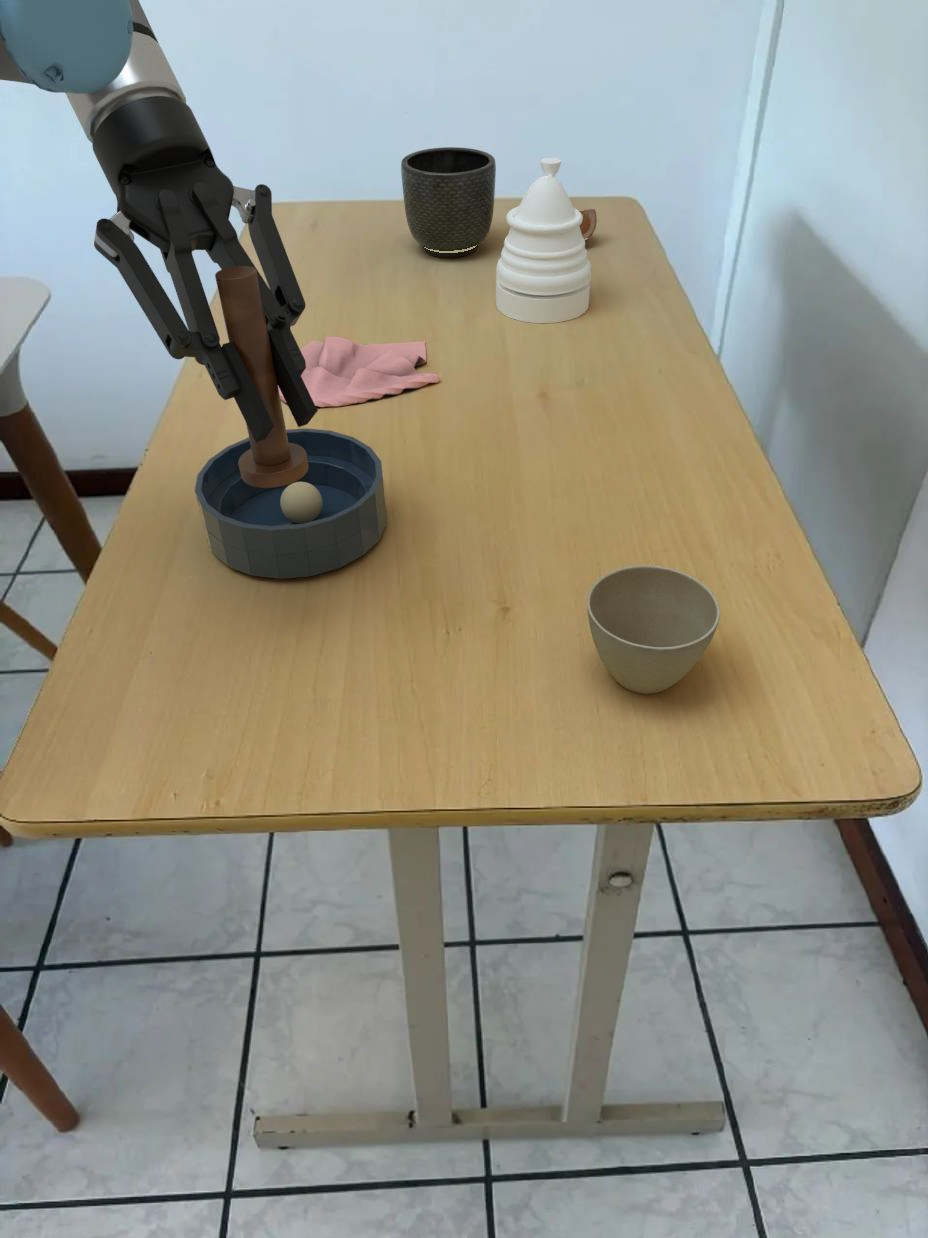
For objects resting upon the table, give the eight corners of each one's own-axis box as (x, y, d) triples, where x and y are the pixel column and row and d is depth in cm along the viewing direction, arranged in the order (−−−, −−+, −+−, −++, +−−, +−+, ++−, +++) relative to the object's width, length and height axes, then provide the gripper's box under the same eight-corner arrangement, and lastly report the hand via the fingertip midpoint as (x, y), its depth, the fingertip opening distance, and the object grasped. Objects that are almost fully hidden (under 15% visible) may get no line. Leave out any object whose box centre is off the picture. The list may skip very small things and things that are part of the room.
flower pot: (732, 682, 76) (749, 614, 72) (638, 736, 72) (649, 667, 67) (647, 615, 82) (656, 548, 78) (555, 661, 78) (560, 594, 74)
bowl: (200, 591, 86) (186, 536, 82) (215, 486, 99) (203, 435, 95) (391, 574, 87) (387, 520, 83) (381, 473, 100) (377, 422, 96)
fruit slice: (548, 254, 146) (549, 220, 143) (535, 238, 151) (536, 206, 148) (600, 248, 148) (602, 215, 145) (585, 233, 153) (588, 201, 149)
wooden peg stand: (233, 488, 72) (187, 286, 63) (249, 456, 76) (208, 261, 67) (301, 487, 72) (265, 283, 62) (314, 454, 76) (281, 258, 67)
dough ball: (292, 523, 94) (274, 525, 91) (289, 482, 94) (271, 483, 90) (330, 521, 93) (313, 523, 90) (327, 480, 93) (310, 480, 89)
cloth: (236, 392, 114) (232, 373, 113) (339, 323, 129) (337, 305, 127) (381, 432, 107) (379, 412, 105) (473, 353, 121) (473, 335, 120)
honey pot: (508, 281, 138) (510, 147, 127) (596, 289, 136) (606, 153, 124) (485, 317, 129) (485, 176, 117) (579, 327, 126) (589, 184, 115)
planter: (493, 266, 143) (494, 174, 135) (400, 265, 144) (395, 174, 135) (496, 233, 154) (497, 146, 145) (410, 232, 154) (406, 146, 146)
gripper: (231, 138, 75) (363, 412, 75) (27, 178, 67) (175, 479, 68) (252, 73, 68) (397, 373, 69) (28, 109, 61) (192, 444, 62)
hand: (286, 425), depth 68 cm, fingers closed on wooden peg stand, 3 cm apart
